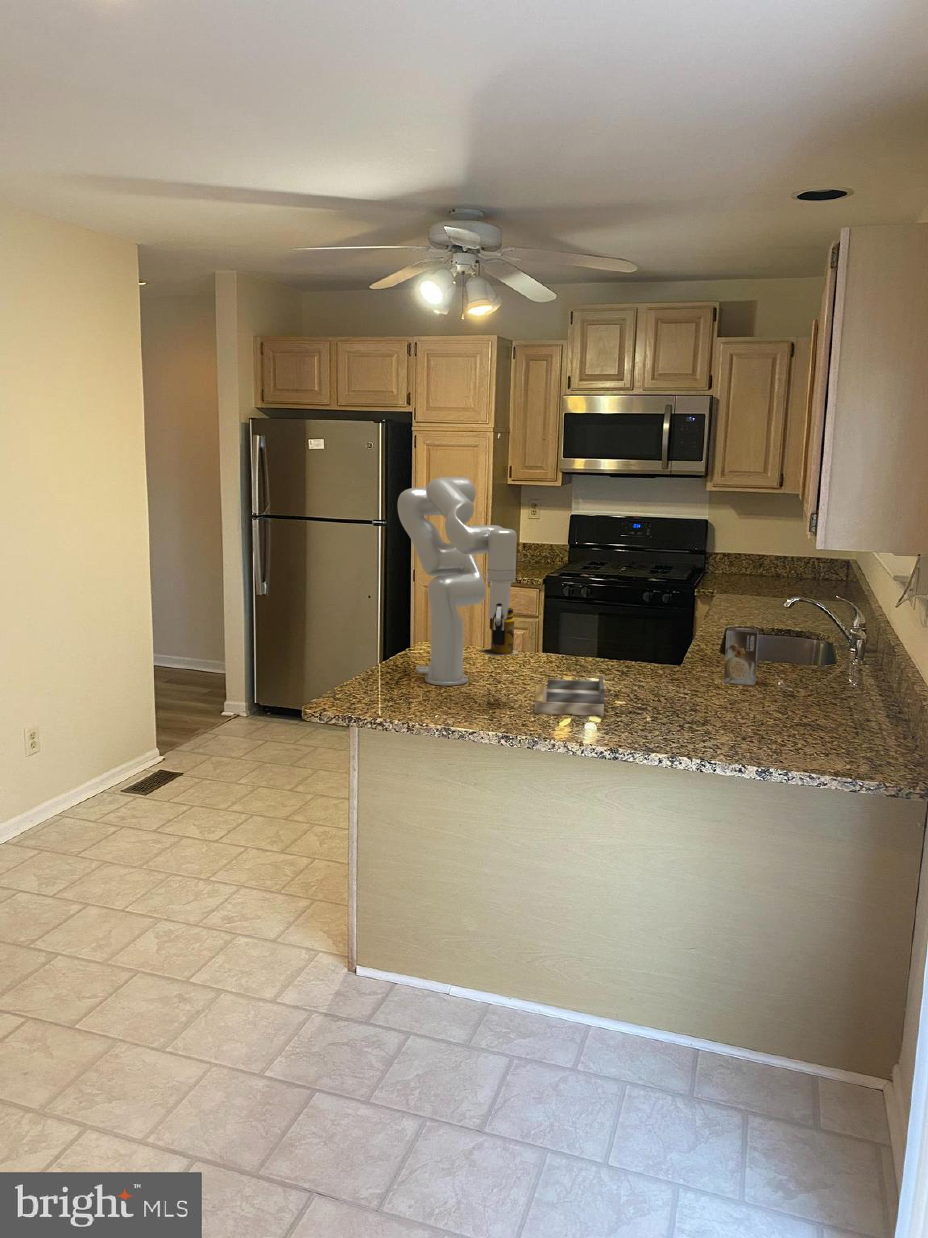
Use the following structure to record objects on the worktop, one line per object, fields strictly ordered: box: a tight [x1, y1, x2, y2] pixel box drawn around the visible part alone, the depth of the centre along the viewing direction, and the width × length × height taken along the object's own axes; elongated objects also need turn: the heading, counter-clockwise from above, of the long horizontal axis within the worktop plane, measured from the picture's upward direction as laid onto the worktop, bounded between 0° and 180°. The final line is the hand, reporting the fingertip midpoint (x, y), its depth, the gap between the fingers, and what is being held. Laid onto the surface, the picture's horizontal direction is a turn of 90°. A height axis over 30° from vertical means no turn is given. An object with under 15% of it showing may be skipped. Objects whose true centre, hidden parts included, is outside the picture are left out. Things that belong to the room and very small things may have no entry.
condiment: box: [478, 607, 520, 657], centre depth 249 cm, size 7×8×12 cm
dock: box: [533, 675, 605, 717], centre depth 250 cm, size 18×16×7 cm
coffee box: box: [723, 626, 760, 686], centre depth 277 cm, size 9×6×16 cm
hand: (499, 641), depth 250 cm, fingers closed on condiment, 6 cm apart
